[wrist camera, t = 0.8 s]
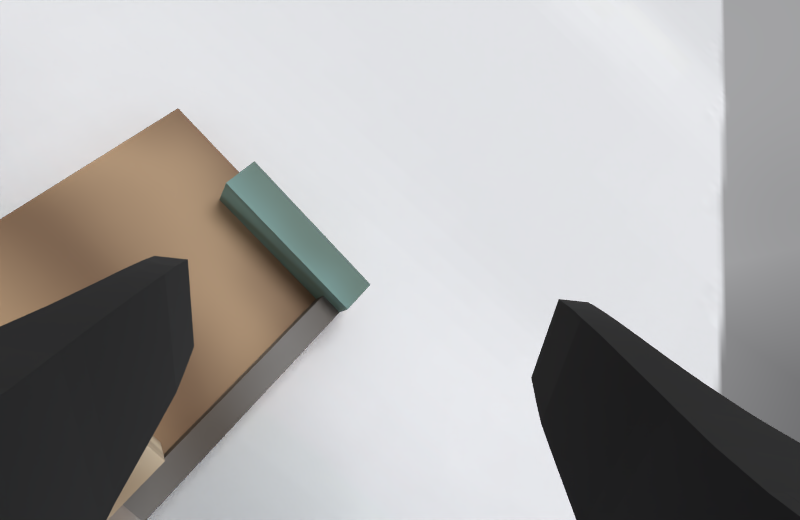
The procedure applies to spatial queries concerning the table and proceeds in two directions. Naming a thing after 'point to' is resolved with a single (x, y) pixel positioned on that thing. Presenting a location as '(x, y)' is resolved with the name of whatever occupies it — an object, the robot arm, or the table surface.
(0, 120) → the table surface
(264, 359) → the board
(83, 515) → the robot arm
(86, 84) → the table surface
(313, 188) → the table surface
